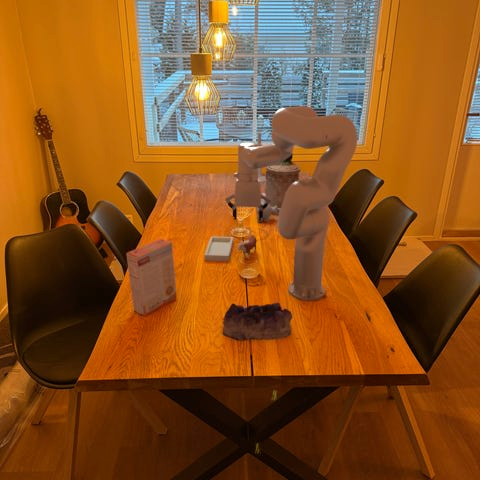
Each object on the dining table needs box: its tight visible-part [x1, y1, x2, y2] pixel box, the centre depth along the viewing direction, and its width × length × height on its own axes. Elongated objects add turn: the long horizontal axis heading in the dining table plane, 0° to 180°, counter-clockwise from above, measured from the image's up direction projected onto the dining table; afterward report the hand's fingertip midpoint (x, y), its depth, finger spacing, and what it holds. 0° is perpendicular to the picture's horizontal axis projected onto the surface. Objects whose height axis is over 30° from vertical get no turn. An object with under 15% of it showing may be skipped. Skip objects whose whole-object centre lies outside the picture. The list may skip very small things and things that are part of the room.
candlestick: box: [256, 132, 266, 184], centre depth 276 cm, size 13×13×30 cm
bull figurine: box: [236, 234, 257, 258], centre depth 176 cm, size 4×13×8 cm, turn 152°
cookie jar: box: [261, 152, 301, 210], centre depth 232 cm, size 25×25×32 cm
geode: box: [222, 301, 293, 341], centre depth 129 cm, size 20×12×10 cm, turn 98°
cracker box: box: [125, 238, 178, 317], centre depth 140 cm, size 14×6×21 cm, turn 141°
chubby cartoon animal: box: [256, 203, 280, 223], centre depth 213 cm, size 8×12×9 cm, turn 89°
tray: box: [204, 236, 234, 262], centre depth 182 cm, size 19×10×2 cm, turn 176°
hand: (247, 219), depth 172 cm, fingers open, 9 cm apart
